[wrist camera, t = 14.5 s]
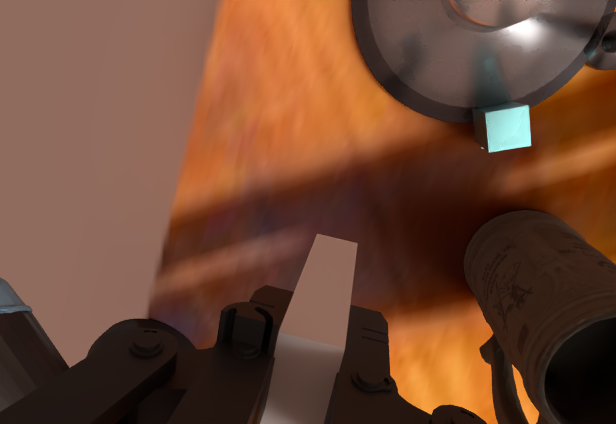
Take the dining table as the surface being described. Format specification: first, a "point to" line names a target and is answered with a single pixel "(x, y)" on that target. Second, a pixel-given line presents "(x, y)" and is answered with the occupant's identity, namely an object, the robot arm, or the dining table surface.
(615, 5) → the base plate
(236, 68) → the dining table surface
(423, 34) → the turntable
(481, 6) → the cover
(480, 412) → the dining table surface
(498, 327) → the beer stein
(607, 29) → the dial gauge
